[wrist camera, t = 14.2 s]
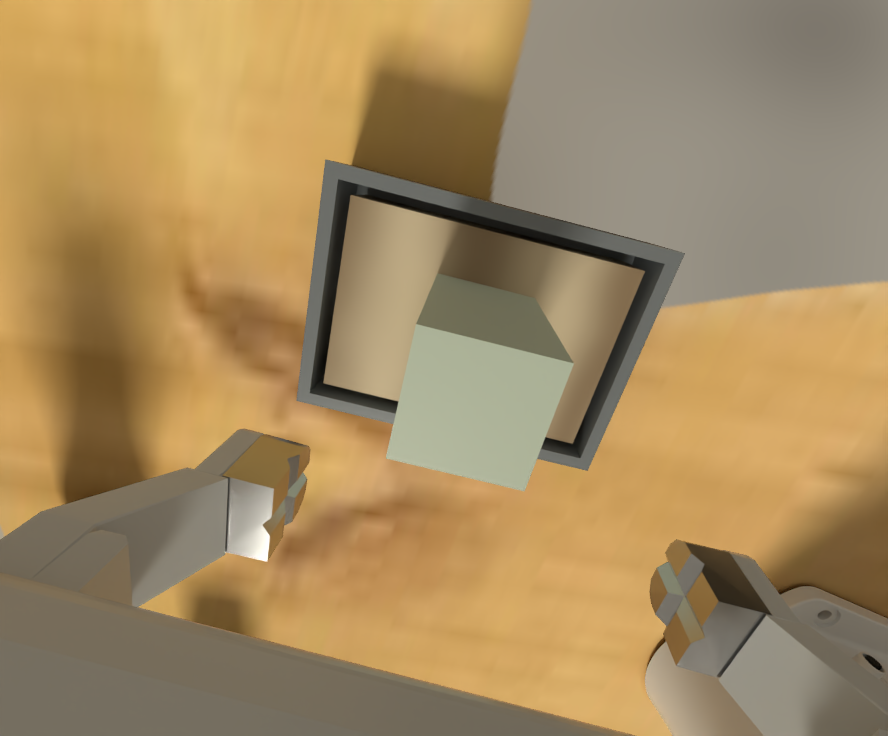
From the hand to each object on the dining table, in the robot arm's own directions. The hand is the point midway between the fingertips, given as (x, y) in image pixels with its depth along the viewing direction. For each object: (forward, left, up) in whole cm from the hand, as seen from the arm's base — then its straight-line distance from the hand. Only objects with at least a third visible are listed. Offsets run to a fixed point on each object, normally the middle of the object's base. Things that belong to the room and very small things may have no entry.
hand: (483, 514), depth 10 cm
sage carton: (0, -1, -12) cm, 12 cm away
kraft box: (0, -1, -15) cm, 15 cm away
